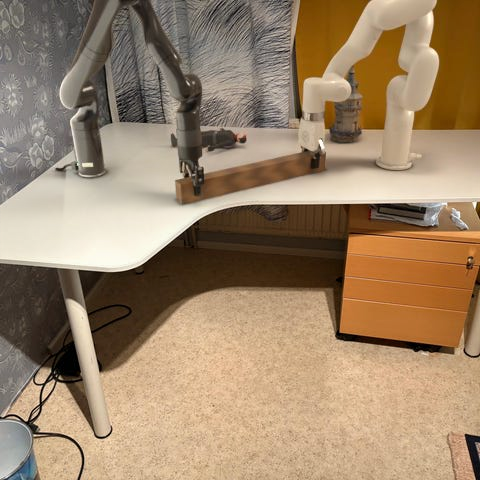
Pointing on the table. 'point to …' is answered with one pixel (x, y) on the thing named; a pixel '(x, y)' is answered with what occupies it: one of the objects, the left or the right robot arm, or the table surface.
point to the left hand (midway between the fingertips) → (192, 191)
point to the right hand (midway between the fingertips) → (310, 165)
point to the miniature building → (348, 114)
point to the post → (248, 176)
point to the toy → (217, 139)
